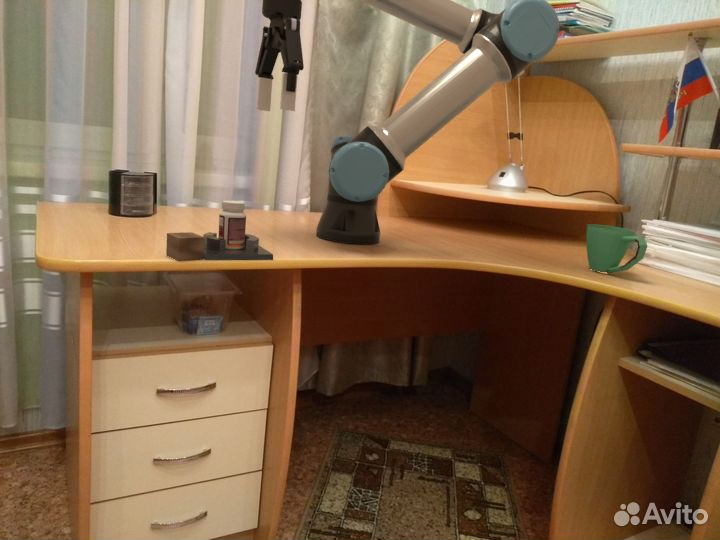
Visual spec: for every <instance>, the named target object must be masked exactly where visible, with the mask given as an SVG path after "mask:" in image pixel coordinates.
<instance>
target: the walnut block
mask: <svg viewBox="0 0 720 540" xmlns="http://www.w3.org/2000/svg"><path fill="white" fill-rule="evenodd" d="M204 238H205V237H203V235H199V234H197V233H195V232H167V233H166V248H165V249H166V254H165V255H167V256H166V257H168V256H169V257H168V258H170V257H171V259H172V258H173V259H172V260H174V259H175V260H174V261H176V262H177V263H178V262H191V261H192V262H193V261H204V260H205V259H204Z"/></svg>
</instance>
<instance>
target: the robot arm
mask: <svg viewBox="0 0 720 540" xmlns="http://www.w3.org/2000/svg"><path fill="white" fill-rule="evenodd" d="M359 1H361V2H362V3H365V4H366V5H369V6H372V7H374V8H375V9H378V10H380V11H382V12H384V13H386V14H389V15H391V16H393V17H396V18H397V19H400V20H402V21H404V22H406V23H408V24H411V26H412V25H413V26H414V27H417V28H419V29H421V30H423V31H425V32H427V33H430V34H431V35H433V36H436V37H439V38H441V39H443V40H445V41H447V42H450V43H452V44H454V45H456V46H457V47H458V50H459V52H460V53H461V54H463V55H461V56H460V57H459V58H457V59H456V60H455V61H454V62H453V63H452V64H451V65H449V66H448V67H447V68H446V69H445V70H443V71H442V72H441V73H440V74H439V75H437V76H436V77H435V78H434V79H433V80H432V81H431V82H430V83H428V84H427V85H425V87H423V88H422V89H421V90H420V91H418V92H417V93H415V95H414V96H413V97H412V98H410V99H409V100H408V101H407V102H406V103H405V104H403V105H402V106H401V107H399V108H398V109H397V110H396V111H395V112H394V113H393V114H391V115H390V116H389V117H388V118H387V119H385V120H384V121H383V122H382V123H381V124H379V125H373V124H372V125H370V124H369V125H367V126H366V127H365V128H364V129H362V130H361V131H360V132H358V133H357V134H356V135H355V136H352V135H344V136H343V135H342V136H341V135H340V136H337V137H335V138H334V139H333V141H332V145H331V146H330V147H331V148H330V160H329V161H330V162H329V164H328V185H327V196H326V197H327V198H326V204H325V207H324V209H323V211H322V213H321V216H320V218H319V221H318V223H317V226H316V232H315V233H316V236H317V237H318V238H320V239H324V240H328V241H332V242H338V243H345V244H355V245H357V244H358V245H371V244H372V245H373V244H377V243H380V239H381V238H380V237H381V231H380V225H379V224H380V223H379V219H378V214H377V201H378V196H379V195H380V194H381V193H382V192H383V190H384V189H385V187H386V186H387V184H389V182H391V181H392V180H393V179H394V178H396V177H397V176H398V175H399V174H400V173H402V171H404V170H405V166H406V165H405V164H406V159H407V158H408V157H409V156H411V155H412V154H413V153H414V152H415V151H416V150H418V149H419V148H420V147H421V146H422V145H424V144H425V143H426V142H427V141H429V140H430V139H431V138H432V137H433V136H435V135H436V134H437V133H438V132H439V131H441V130H442V129H443V128H444V127H445V126H446V125H448V124H449V123H450V122H451V121H453V120H454V119H455V118H456V117H458V116H459V115H460V114H461V113H462V112H463V111H465V110H466V109H467V108H468V107H469V106H471V105H472V104H473V103H475V102H476V101H477V100H478V99H479V98H480V97H481V96H483V95H484V94H485V93H487V92H488V90H490V89H491V88H492V87H494V85H496V84H497V83H501V84H502V83H503V84H508V83H510V82H512V80H514V79H515V78H516V77H517V76H518V75H520V74H521V73H522V72H524V70H526V69H527V68H528V67H529V66H531V65H532V64H533V63H534V62H537V61H540V60H542V59H544V58H545V57H546V56H547V55H549V53H551V51H552V50H553V49H554V48H555V46H556V44H557V42H558V38H559V37H560V36H559V35H560V34H559V33H560V21H559V17H558V14H557V12H556V9H554V7H553V6H552V4H550V3H549V2H548V1H547V0H513V1H512V2H511V3H510V4H508V6H507V7H506V8H505V9H503V10H502V11H501V12H499V13H494V12H490V11H487V10H485V9H483V8H477V9H475V10H472V9H470V8H468V7H466V6H463V5H462V4H460V3H457V2H455V1H453V0H359ZM302 6H303V2H302V0H262V8H261V13H262V16H263V17H265V18H266V19H269V22H270V23H269V26H265V25H264V26H263V28H262V36H261V37H262V39H261V43H260V48H259V51H258V57H257V61H256V67H255V71H254V73H255V75H256V76H257V77H258V86H257V100H256V101H257V102H256V110H258V111H265V112H271V106H272V105H271V104H272V102H271V101H272V89H273V80H274V75H273V71H274V69H275V65H276V62H277V59H278V56H279V54H280V55H281V61H282V64H283V67H282V69H281V73H282V75H281V76H282V79H281V90H280V91H281V93H280V103H279V104H280V107H279V110H285V111H289V112H290V111H291V112H295V111H296V98H297V85H298V75H300V71H303V70H304V68H305V67H304V66H305V65H304V58H303V48H302V39H301V18H302Z"/></svg>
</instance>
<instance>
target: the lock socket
mask: <svg viewBox="0 0 720 540" xmlns="http://www.w3.org/2000/svg"><path fill="white" fill-rule="evenodd" d="M217 236H218V234H217V232H205V233H204V234H203V235H202V237H205V238H204V260H205V261H266V260H267V261H272V260H273V261H274V254H273V253H272V252H270V251H269V250H267V249H265V248H264V247H262V246H260V245H259V243H260V238H259V237H257V236H256V235H254V234H249V233H245V246H244V248H243V249H235V250H232V249H225V248H226V239H221V238H218V237H217Z"/></svg>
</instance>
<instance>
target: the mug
mask: <svg viewBox="0 0 720 540" xmlns="http://www.w3.org/2000/svg"><path fill="white" fill-rule="evenodd" d="M585 231H586V236H585V237H586V254H587V256H586V257H587V261H588V266H589V270H590V269H592V270H595V271H600V272H607V273H613V272H614V273H619V272H623V271H628V270H630V269H632V267H634V266H635V265H637V264H638V263H639V262H640V261H642V260H643V259H644V258H645V254H646V251H647V249H648V244H647V241H646V238H644V236H643V237H642V236H638V235H635V231H634V230H632V229H630V228H629V229H627V228H623V227H620V226H619V227H617V226H611V225H604V224H596V223H594V224H592V223H591V224H590V223H588V224H586V230H585ZM631 243H637V244H636V245H637V249H636V252H635V255H634V256H633V257H632V258H630V259H629V260H628V261H627V262H626V263H624V264H622V265H620V264H621V262H622V260H623V259H624V257H625V255H626V253H627V250H628V248H629V247H630V245H631ZM614 273H613V274H614Z"/></svg>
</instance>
